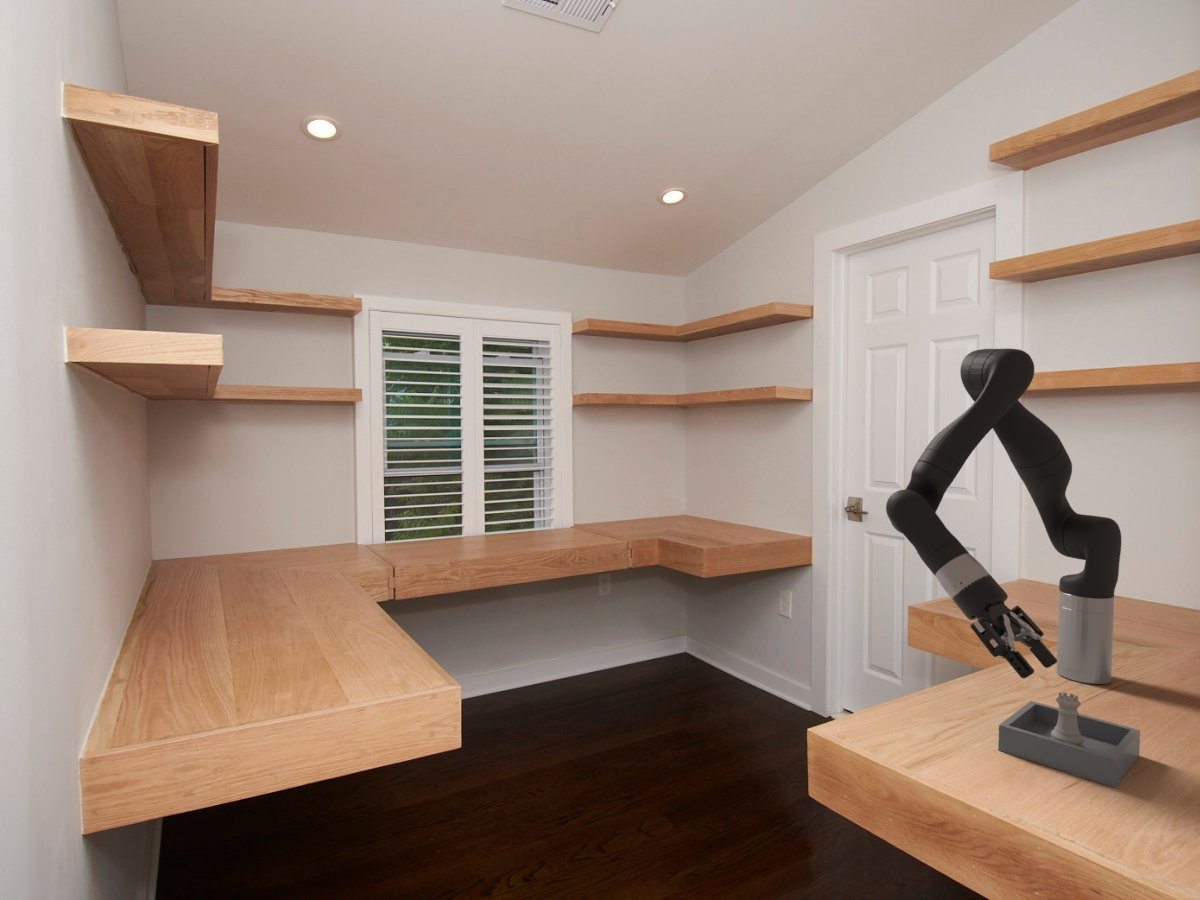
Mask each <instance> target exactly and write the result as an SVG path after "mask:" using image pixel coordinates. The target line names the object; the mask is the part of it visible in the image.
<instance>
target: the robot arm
mask: <svg viewBox="0 0 1200 900" xmlns="http://www.w3.org/2000/svg"><path fill="white" fill-rule="evenodd" d="M1034 375H1035V364H1034V361H1033V358H1032V357H1031V355H1029V353H1027V352H1026V351H1024V350H1022V349H1017V348H983V349H982V348H981V349H976V350H973V351H971V352H969V353H967V355H966V356H964V358H963V359H962V362H961V365H960V380H961V382H962V385H963V387H964V390H965V391H966V392H967V394H968V396H970V398H971V399H972V401H973V403H972V405H970V406H969V407H968V408H967V409H966V411H964V412H963V413H962V414H961V415H960V416H958V417H957V418H955V420H953V421H952V422H951V423H949V424H948V425H947V426H946V427H944V428H943V429H941V431H939V432H938V433H937V434H936V435H935V436H934V437H933V438H932V440H931V441H930V442H929V443H928V445H927V446H926V448H925V449H924V451H923V452H922V453H921V455H920V457H919V459H917V461H916V462H915V465H914V466H913V468H912V470H911V475H910V481H909V482H908V484H907V486H906V488H905V489H899V490H897V491H895V492H893V493H892V494H890V496H889V497H888V499H887V501H886V506H885V510H886V511H885V513H886V515H887V518H888V519H889V521H890V524H891V525H892V526H893V528H894V529H895V530H896V531H898V532H899V533H900V534H902V535H903V536H904V537H905V538H906V539H907V540H908V541H909V543H910V544H911V545H913V547H914V548H915V550H916V553H917V554H918V556H919V558H920V560H921V561H922V562H923V563H924V564H925V566H926V567H927V568H928V569H929V571H930V572H931V573H932V574H933V575H934V576H935V578H936V579H937V581H938V582H939V584H940V586H941V587H942V588H943V590H944V591H945V593H947V595H948V596H949V598H950V599H951V600H952V601H953V602H954V603H955V605H956V606H957V608H958V609H959V610H960V611H961V612H962V614H963V615H964V616H965V617H966V619H968V620H970V621H974V622H972V623H971V624H969V626H970V628H971V629H972V631H973V632H974V634H975V635H976V636H977V638H979V640H980V642H982V643H983V645H984V646H985V648H986V649H987V650H988V651H989V652H988V653H990V654H991V655H992V656H993V657H995V658H997V657H998V656H999V657H1000V658H1001V659H1005V660H1006V661H1007V663H1008V664H1009V665H1010V666H1011V667H1012V668H1013V670H1014V671H1015V672H1016V674H1018V676H1019V677H1020V678H1021V679H1026V678H1029V676H1031V675H1034V673H1035V669H1034V668H1033V667H1032V665H1030V664H1029V662H1028V660H1026V658H1025V657H1024V656H1023V655H1022V654H1021V652H1020V651H1019V650H1017V648H1016V644H1015V642H1016V643H1017V642H1020V643H1021V644H1023V645H1024V646H1026V647H1027V648H1029V651H1030V652H1031V653H1032V654H1033V655H1034V656H1035V658H1036V659H1037V660H1038V661H1039V662H1040V664H1041V665H1042V666H1043V667H1044V668H1046V669H1048V668H1051V667H1052V666H1054V665H1055V664H1056V673H1057V674H1058V675H1059V676H1061V677H1063V678H1066V679H1068V680H1070V681H1071V680H1072V681H1074V682H1079V683H1085V684H1092V685H1105V684H1106V685H1107V684H1110V683H1111V682H1112V673H1113V672H1112V670H1113V669H1112V665H1113V642H1114V641H1113V639H1114V618H1115V617H1114V615H1115V611H1114V609H1115V608H1114V607H1115V589H1116V587H1117V583H1118V579H1119V573H1120V571H1119V570H1120V561H1121V552H1122V533H1121V528H1120V526H1119V524H1118V523H1117V521H1115V520H1114V519H1113V518H1110V517H1107V516H1099V515H1097V516H1096V515H1092V514H1091V515H1089V514H1082V513H1077V512H1076V511H1075V510H1074V509H1073V508H1072V506H1071V504H1070V503H1069V501H1068V499H1067V496H1066V492H1067V488H1068V486H1069V483H1070V480H1071V477H1072V474H1073V463H1072V459H1071V458H1070V456H1069V453H1068V452H1067V450H1066V447H1065V446H1064V445H1063V442H1062V441H1061V439H1060V437H1059V436H1058V435H1057V433H1056V432H1055V431H1054V430H1053V429H1052V428H1051V427H1049V426H1048V424H1046V423H1045V422H1044V421H1043V420H1041V419H1040V418H1039V417H1037V416H1036V414H1034V413H1033V412H1031V411H1030V410H1029V409H1028V408H1027V407H1025V406H1024V405H1023V404H1022V403H1021V401H1020V400H1019V399H1021V397H1022V396H1023V395H1024V394H1025V392H1027V390H1028V388H1029V387H1030V385H1031V383H1032V382H1033V379H1034ZM992 429H993V431H994V434H995V435H996V436H997V438H998V440H999V441H1000V443H1001V445H1002V447H1003V448H1004V450H1005V451H1006V454H1007V456H1008V458H1009V460H1010V462H1011V463H1012V465H1013V467H1014V469H1015V471H1016V472H1017V474H1018V476H1019V477H1020V479H1021V480H1022V482H1023V484H1024V486H1025V487H1026V490H1027V492H1028V493H1029V495H1030V496H1031V499H1032V501H1033V503H1034V505H1035V507H1036V509H1037V511H1038V513H1039V516H1040V518H1041V521H1042V524H1043V526H1044V529H1045V531H1046V533H1047V536H1048V538H1049V540H1050V543H1051V545H1052V546H1053V548H1054V549H1055V551H1057V553H1059V554H1060V555H1062V556H1065V557H1068V558H1070V559H1071V558H1072V559H1076V560H1083V561H1085V563H1084V568H1083V570H1082V571H1080V572H1078V573H1073V574H1066V575H1063V576H1061V577H1060V579H1059V582H1058V583H1059V587H1058V589H1059V591H1058V615H1057V616H1058V617H1057V618H1058V619H1057V646H1056V647H1057V648H1056V650H1057V651H1056V656H1055V655H1054V654H1053V653H1052V652H1051V651H1050V650H1049V649H1048V648H1047V646H1046V645H1045V644H1044V643H1043V642H1042V641H1043V638H1042V637H1043V636H1044V635H1045V634H1044V632H1043V630H1041V628H1040V627H1039V626H1038V625H1037V624H1036V623H1035V622H1034V621H1033V620H1032V619H1031V617H1030V616H1029V615H1028V614H1027V613H1026V612H1025V611H1024V610H1023V609H1022V607H1020V606H1019V605H1016V606H1014V607H1012V608H1011V609H1010V608H1009V607H1008V606H1007V605H1006V604H1005V601H1007V600H1008V598H1009V597H1008V596H1009V595H1008V594H1007V592H1006V591H1005V590H1004V589H1003V588H1002V586H1000V584H999V583H998V582H997V581H996V579H995V578H994V577H993V576H992V575H991V574H990V573H989V572H988V571H987V570H986V568H985V567H984V566H983V564H981V563H980V562H979V560H977V559H976V558H975V557H974V556H973V555H972V554H971V553H970V552H969V551H968V550H967V549H966V548H965V546H964V545H963V544H962V543H961V542H960V540H959V539H958V538H957V537H955V536H954V534H952V532H951V531H950V530H949V529H948V528H947V527H946V525H945V523H943V521H942V519H941V518H940V516H939V515H938V514H937V510H938V509H939V506H940V504H941V502H942V501H943V498H944V496H945V493H947V492H946V491H947V490H948V488H949V487H950V486H951V485H952V483H953V482H954V480H955V479H956V477H957V475H958V474H959V472H960V471H961V469H962V468H963V466H964V464H965V463H966V462H967V460H968V459H969V457H970V456H971V454H972V453H973V452H974V450H975V449H976V448H977V446H978V445H979V444H980V443H981V441H982V440H983V439H984V438H985V437H986V435H988V434H989V432H990V431H991V430H992Z"/></svg>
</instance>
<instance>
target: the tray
mask: <svg viewBox="0 0 1200 900" xmlns="http://www.w3.org/2000/svg"><path fill="white" fill-rule="evenodd" d="M1057 708H1058V707H1055V706H1051V705H1048V704H1044V703H1040V702H1038V701H1037V702H1036V701H1033V700H1030V701H1028V702H1027V703H1026V704H1025V705H1023V706H1022V707H1021V708H1019V709H1018V710H1017V711H1016V712H1014V713H1013V714H1012V715H1010V716H1009V717H1008V718H1006V719H1005V720H1003V721H1002V722H1001V723H1000V724H998V751H1000V752H1002V751H1003V753H1005V754H1006V753H1007V754H1009V755H1012V756H1016V757H1017V758H1018V757H1019V758H1022V759H1023V760H1024V759H1025V760H1027V759H1028V760H1027V761H1030V760H1031V762H1033V761H1034V763H1036V762H1037V764H1039V763H1040V765H1043V764H1044V765H1043V766H1046V765H1047V766H1046V767H1049V768H1052V769H1055V768H1056V769H1055V770H1059V771H1061V770H1062V771H1061V772H1064V771H1065V773H1068V774H1070V775H1074V776H1076V775H1078V777H1079V776H1080V778H1083V777H1084V778H1083V779H1086V778H1087V779H1086V780H1089V779H1091V780H1090V781H1092V780H1094V781H1093V782H1095V781H1096V782H1095V783H1098V782H1099V783H1098V784H1101V783H1102V785H1104V784H1105V785H1104V786H1107V785H1108V787H1110V786H1111V787H1110V788H1113V789H1116V788H1117V786H1118V785H1119V783H1120V782H1121V781H1120V780H1122V779H1123V778H1124V777H1123V776H1125V775H1126V774H1127V773H1128V771H1129V770H1130V769H1129V768H1131V767H1132V766H1133V764H1134V763H1135V762H1136V760H1138V757H1139V756H1140V748H1141V747H1140V744H1141V743H1140V742H1141V739H1140V738H1141V729H1138V728H1133V727H1130V726H1127V725H1123V724H1118V723H1115V722H1112V721H1107V720H1105V719H1100V718H1096V717H1092V716H1089V715H1085V714H1081V713H1079V714H1078V715H1077V723H1078V729H1079V732H1080V733H1081V734H1080V735H1081V736H1082V737H1083V740H1084V742H1083V743H1082V744H1083V745H1084V748H1083V747H1079V746H1076V745H1073V744H1069V743H1066V742H1063V741H1059V740H1056V739H1053V738H1052V736H1051V732H1052V730H1054V727H1056V725H1057V721H1058V716H1059V711H1058V710H1057ZM1126 772H1127V773H1126ZM1124 774H1125V775H1124ZM1122 777H1123V778H1122ZM1119 781H1120V782H1119ZM1117 784H1118V785H1117Z"/></svg>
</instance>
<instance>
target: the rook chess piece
mask: <svg viewBox="0 0 1200 900" xmlns="http://www.w3.org/2000/svg"><path fill="white" fill-rule="evenodd" d="M1055 701H1056V702H1057V704H1058V707H1056V708H1057V710H1058V711H1059V716H1058V721H1057V725H1056V727H1054V730H1052V732H1051V736H1052V738H1053V739H1056V740H1059V741H1063V742H1066V743H1069V744H1073V745H1076V746H1079V747H1083V748H1084V745H1083V744H1082V743H1083V742H1084V740H1083V737H1082V736H1081V735H1080V734H1081V733H1080V732H1079V729H1078V723H1077V715H1078V714H1080V713H1079V711H1078V708H1079V707H1081V704H1082V703H1081V702H1080V700H1079V696H1078V695H1075V694H1073V693H1069V695H1068V693H1067V692H1059V693H1058V697H1056V698H1055Z"/></svg>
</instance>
